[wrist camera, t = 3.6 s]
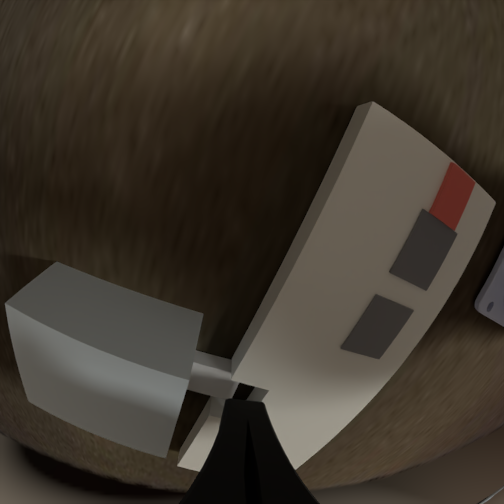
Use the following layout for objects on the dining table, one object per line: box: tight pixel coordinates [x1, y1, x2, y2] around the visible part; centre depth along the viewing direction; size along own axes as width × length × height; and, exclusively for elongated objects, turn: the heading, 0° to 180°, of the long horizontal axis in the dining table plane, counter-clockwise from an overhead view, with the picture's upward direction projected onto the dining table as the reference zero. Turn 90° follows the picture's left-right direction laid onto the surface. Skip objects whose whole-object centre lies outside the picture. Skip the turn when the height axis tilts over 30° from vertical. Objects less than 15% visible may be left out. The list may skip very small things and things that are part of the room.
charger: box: [5, 262, 239, 458], centre depth 9 cm, size 8×5×4 cm, turn 71°
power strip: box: [177, 101, 496, 472], centre depth 10 cm, size 6×18×1 cm, turn 156°
